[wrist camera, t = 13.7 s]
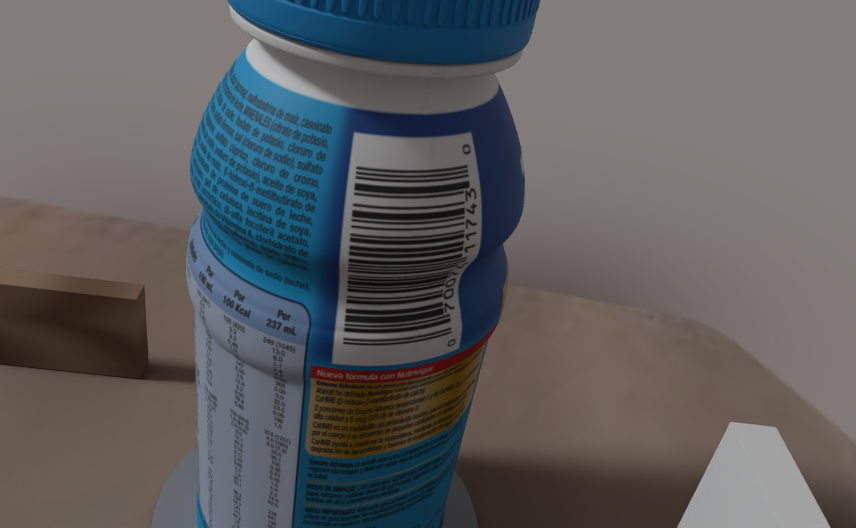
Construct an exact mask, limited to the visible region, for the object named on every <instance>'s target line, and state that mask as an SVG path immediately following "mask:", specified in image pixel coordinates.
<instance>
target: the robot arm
mask: <svg viewBox="0 0 856 528" xmlns="http://www.w3.org/2000/svg"><path fill="white" fill-rule="evenodd" d="M677 528H830V526H829V524H828V522H827V520H826V518H825V517H824V515H823V513H822V511H821V509H820V507H819V506H818V504H817V502H816V500H815V498H814V496H813V495H812V493H811V491H810V489H809V487H808V485H807V483H806V482H805V480H804V478H803V476H802V474H801V472H800V471H799V469H798V467H797V465H796V463H795V461H794V460H793V458H792V456H791V454H790V452H789V450H788V449H787V447H786V445H785V443H784V441H783V439H782V438H781V436H780V434H779V432H778V430H777V428H776V427H769V426H760V425H752V424H743V423H735V422H730V424H729V426H728V428H727V430H726V432H725V434H724V436H723V438H722V440H721V442H720V444H719V446H718V448H717V450H716V452H715V454H714V456H713V458H712V460H711V462H710V464H709V466H708V468H707V470H706V472H705V474H704V476H703V478H702V480H701V482H700V484H699V485H698V487H697V489H696V491H695V493H694V495H693V497H692V499H691V501H690V503H689V505H688V507H687V509H686V511H685V513H684V515H683V517H682V519H681V521H680V523H679V525H678V527H677Z"/></svg>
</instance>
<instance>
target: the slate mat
mask: <svg viewBox="0 0 856 528" xmlns="http://www.w3.org/2000/svg"><path fill="white" fill-rule="evenodd" d="M197 487H198V453H197V446H196V447H195V448H194V449H193V450H192V451H191V452H190V453H189V454H188V455H187V456H186V457H185V458H184V459H183V460H182V461H181V463H180V464H179V465H178V466H177V467H176V469H175V470H174V471H173V473H172V474H171V476H170V477H169V479H168V481H167V482H166V484H165V485H164V487H163V490H162V492H161V494H160V496H159V498H158V501H157V503H156V507H155V510H154V514H153V517H152V522H151V528H197V517H196V498H197ZM442 528H478V524H477V517H476V513H475V510H474V507H473V503H472V500H471V498H470V495H469V493H468V491H467V489H466V487H465V485H464V483H463V481H462V480H461V478H460V477H459V475H458V474H457V472H456V471H455V469H454V472H453V476H452V480H451V484H450V488H449V492H448V496H447V500H446V509H445V516H444V521H443V526H442Z"/></svg>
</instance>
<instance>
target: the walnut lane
mask: <svg viewBox="0 0 856 528" xmlns="http://www.w3.org/2000/svg"><path fill="white" fill-rule="evenodd" d="M148 363H149V361H148V344H147V326H146V308H145V291H144V285H140V284H131V283H123V282H114V281H106V280H97V279H89V278H80V277H72V276H63V275H55V274H46V273H38V272H29V271H21V270H12V269H4V268H0V364H6V365H16V366H25V367H35V368H44V369H53V370H63V371H72V372H82V373H91V374H100V375H110V376H119V377H129V378H138V379H141V378H142V376H143V374H144V372H145V370H146V368H147V365H148Z"/></svg>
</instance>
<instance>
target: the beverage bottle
mask: <svg viewBox="0 0 856 528" xmlns="http://www.w3.org/2000/svg"><path fill="white" fill-rule="evenodd" d="M228 2H229V4H230V6H229V7H230V14H231V17H232V19H233V20H234V22H235V23H236V24H237V26H238V27H239V28H240V29H242V30H243V31H244V32H245V33H247V34H248V35H250V36H251V37H253V38H254V39H253V40H252V41H251V42H250V43H249V45H248V46H247V47H246V48H245V49H244V50H243V52H242V53H241V54H240V56H239V57H238V58H237V59H236V61H235V62H234V64H233V65H232V66H231V68H230V69H229V70H228V72H227V73H226V75H225V76H224V78H223V79H222V81H221V83H220V85H219V86H218V88H217V89H216V91H215V93H214V95H213V96H212V98H211V100H210V102H209V104H208V106H207V108H206V110H205V112H204V115H203V117H202V120H201V122H200V125H199V128H198V131H197V134H196V137H195V141H194V145H193V149H192V153H191V160H190V176H191V182H192V186H193V188H194V191H195V194H196V195H197V197H198V199H199V201H200V203H201V204H202V206H203V208H202V210H201V211H200V213H199V215H198V216H197V218H196V220H195V222H194V224H193V226H192V229H191V232H190V236H189V240H188V248H187V261H186V275H187V285H188V290H189V294H190V297H191V300H192V303H193V305H194V332H195V370H196V409H197V453H198V487H197V498H196V517H197V528H442V526H443V521H444V516H445V509H446V500H447V496H448V492H449V488H450V484H451V480H452V476H453V472H454V469H455V465H456V461H457V457H458V453H459V449H460V445H461V442H462V438H463V434H464V430H465V426H466V422H467V419H468V415H469V411H470V407H471V403H472V399H473V396H474V392H475V388H476V384H477V380H478V377H479V373H480V369H481V365H482V361H483V357H484V354H485V350H486V346H487V343H488V339H489V338H490V336H491V335H492V333H493V332H494V330H495V328H496V326H497V324H498V322H499V320H500V317H501V314H502V311H503V307H504V303H505V298H506V293H507V286H508V262H507V257H506V254H505V251H504V247H503V243H504V242H505V241H506V240H507V239H508V238H509V236H510V235H511V234H512V233H513V231H514V230H515V228H516V227H517V225H518V223H519V221H520V218H521V215H522V212H523V207H524V199H525V177H524V165H523V157H522V151H521V146H520V142H519V138H518V134H517V131H516V128H515V124H514V121H513V118H512V115H511V112H510V109H509V106H508V104H507V101H506V98H505V96H504V94H503V91H502V89H501V87H500V84H499V83H498V80H497V78H496V76H495V74H494V73H496V72H500V71H503V70H505V69H507V68H509V67H511V66H513V65H514V64H515V63H516V62H517V61H518V60H519V59H520V57H521V55H522V52H523V49H524V47H525V46H526V45H527V44H528V42H529V39H530V37H531V34H532V30H533V26H534V22H535V17H536V12H537V10H538V8H539V3H540V0H228Z"/></svg>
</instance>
